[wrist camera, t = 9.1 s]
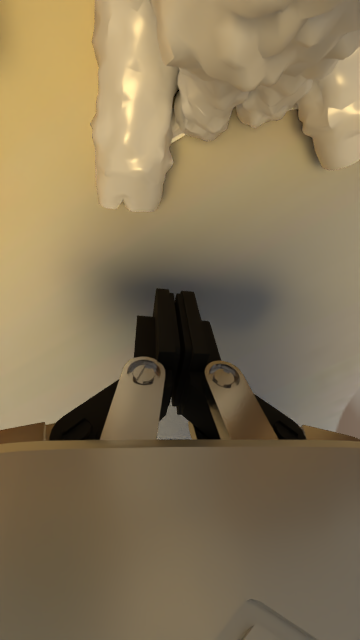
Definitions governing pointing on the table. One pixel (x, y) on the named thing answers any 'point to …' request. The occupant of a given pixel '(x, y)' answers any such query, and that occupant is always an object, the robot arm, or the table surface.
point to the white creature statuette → (217, 81)
